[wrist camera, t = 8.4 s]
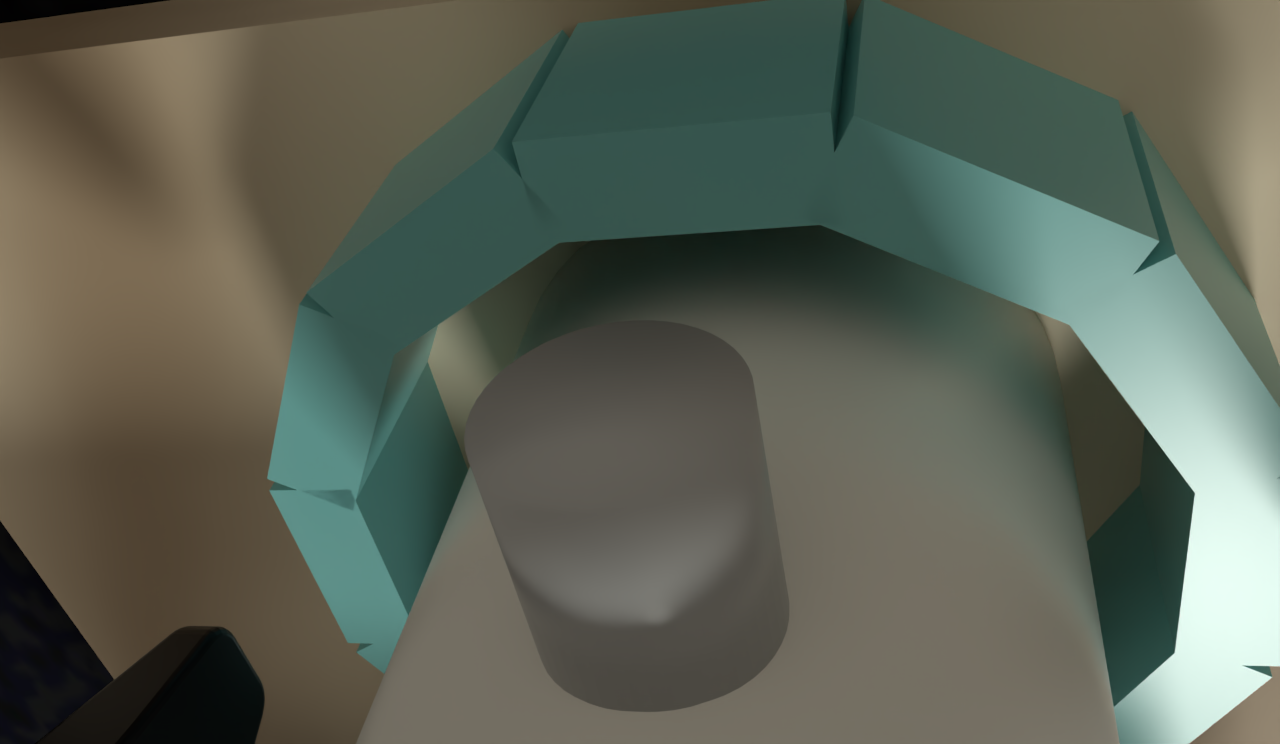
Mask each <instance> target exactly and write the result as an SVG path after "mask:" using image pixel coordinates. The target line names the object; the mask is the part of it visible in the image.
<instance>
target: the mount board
mask: <svg viewBox="0 0 1280 744" xmlns="http://www.w3.org/2000/svg"><path fill="white" fill-rule="evenodd" d="M760 1H768V0H169V1H162V2H154V3H147V4H140V5H132V6H125V7H118V8H110V9H103V10H96V11H88V12H81V13H74V14H66V15H59V16H52V17H44V18H37V19H30V20H22V21H15V22H8V23H0V521H1V522H2V524H3V525H4V527H5V528H6V529H7V531H8V532H9V533H10V535H11V536H12V538H13V539H14V540H15V542H16V543H17V545H18V546H19V547H20V549H21V550H22V552H23V553H24V554H25V556H26V557H27V559H28V560H29V561H30V563H31V564H32V565H33V567H34V568H35V570H36V571H37V572H38V574H39V575H40V577H41V578H42V579H43V581H44V582H45V584H46V585H47V586H48V588H49V589H50V591H51V592H52V593H53V595H54V596H55V597H56V599H57V600H58V602H59V603H60V604H61V606H62V607H63V609H64V610H65V611H66V613H67V614H68V616H69V617H70V618H71V620H72V621H73V623H74V624H75V625H76V627H77V628H78V629H79V631H80V632H81V634H82V635H83V636H84V638H85V639H86V641H87V642H88V643H89V645H90V646H91V648H92V649H93V650H94V652H95V653H96V655H97V656H98V657H99V659H100V660H101V662H102V663H103V664H104V666H105V667H106V668H107V670H108V671H109V673H110V674H111V675H112V677H113V678H114V679H115V678H117V677H118V676H119V675H120V674H122V673H123V672H124V671H125V670H127V669H128V668H129V667H130V666H132V665H133V664H134V663H135V662H136V661H138V660H139V659H140V658H141V657H143V656H144V655H145V654H146V653H148V652H149V651H150V650H151V649H153V648H154V647H155V646H156V645H158V644H159V643H160V642H161V641H162V640H164V639H165V638H166V637H167V636H169V635H170V634H171V633H173V632H174V631H176V630H178V629H179V628H182V627H186V626H219V627H224V628H226V629H227V630H229V631H230V632H231V633H232V634H233V635H234V636H235V638H236V640H237V641H238V643H239V645H240V646H241V648H242V650H243V651H244V653H245V655H246V656H247V658H248V660H249V661H250V663H251V665H252V666H253V668H254V670H255V671H256V673H257V675H258V676H259V678H260V680H261V682H262V684H263V688H264V694H265V704H264V711H263V716H262V719H261V723H260V727H259V731H258V734H257V738H256V742H255V744H356V742H357V740H358V737H359V735H360V732H361V730H362V727H363V725H364V723H365V720H366V718H367V715H368V713H369V710H370V708H371V706H372V703H373V701H374V698H375V696H376V693H377V691H378V689H379V686H380V684H381V681H382V679H383V676H384V673H382V672H381V671H380V670H379V669H377V668H376V667H375V666H373V665H372V664H371V663H369V662H368V661H367V660H366V659H364V658H363V657H362V656H360V655H359V654H358V653H356V651H357V649H358V647H359V645H360V643H348V642H347V640H346V638H345V636H344V634H343V632H342V630H341V628H340V626H339V625H338V623H337V621H336V619H335V617H334V615H333V613H332V611H331V609H330V607H329V605H328V603H327V601H326V599H325V597H324V596H323V594H322V592H321V590H320V588H319V586H318V584H317V582H316V580H315V578H314V576H313V574H312V572H311V570H310V568H309V566H308V565H307V563H306V561H305V559H304V557H303V555H302V553H301V551H300V549H299V547H298V545H297V543H296V541H295V539H294V537H293V536H292V534H291V532H290V530H289V528H288V526H287V524H286V522H285V520H284V518H283V516H282V514H281V512H280V510H279V508H278V506H277V505H276V503H275V501H274V499H273V497H272V495H271V493H270V491H269V490H270V488H271V487H272V485H273V483H274V481H271V480H269V479H267V477H268V471H269V466H270V460H271V455H272V449H273V444H274V438H275V433H276V428H277V422H278V417H279V411H280V406H281V400H282V395H283V389H284V384H285V379H286V373H287V368H288V362H289V357H290V351H291V346H292V340H293V335H294V330H295V324H296V319H297V313H298V308H299V304H300V302H301V301H302V300H303V298H304V297H305V295H306V294H307V293H306V292H307V291H308V290H309V288H310V287H311V285H312V284H313V282H314V281H315V279H316V278H317V277H318V275H319V274H320V272H321V271H322V269H323V268H324V267H325V265H326V264H327V262H328V261H329V259H330V258H331V257H332V255H333V254H334V252H335V251H336V249H337V248H338V246H339V245H340V244H341V242H342V241H343V239H344V238H345V236H346V235H347V234H348V232H349V231H350V229H351V228H352V226H353V225H354V223H355V222H356V221H357V219H358V218H359V216H360V215H361V213H362V212H363V211H364V209H365V208H366V206H367V205H368V203H369V202H370V201H371V199H372V198H373V196H374V195H375V193H376V192H377V190H378V189H379V188H380V186H381V185H382V183H383V182H384V180H385V179H386V178H387V176H388V175H389V173H390V172H391V170H392V169H393V167H394V166H395V165H396V164H397V163H398V162H400V161H401V160H402V159H403V158H404V157H406V156H407V155H408V154H409V153H411V152H412V151H413V150H414V149H416V148H417V147H418V146H419V145H420V144H422V143H423V142H424V141H425V140H427V139H428V138H429V137H430V136H432V135H433V134H434V133H435V132H437V131H438V130H439V129H440V128H441V127H443V126H444V125H445V124H446V123H448V122H449V121H450V120H451V119H453V118H454V117H455V116H456V115H457V114H459V113H460V112H461V111H462V110H464V109H465V108H466V107H467V106H469V105H470V104H471V103H472V102H474V101H475V100H476V99H477V98H478V97H480V96H481V95H482V94H483V93H485V92H486V91H487V90H488V89H490V88H491V87H492V86H493V85H494V84H496V83H497V82H498V81H499V80H501V79H502V78H503V77H504V76H506V75H507V74H508V73H509V72H511V71H512V70H513V69H514V68H515V67H517V66H518V65H519V64H520V63H522V62H523V61H524V60H525V59H527V58H528V57H529V56H530V55H531V54H533V53H534V52H535V51H536V50H538V49H539V48H540V47H541V46H543V45H544V44H545V43H546V42H547V41H549V40H550V39H551V38H552V37H554V36H555V35H556V34H557V33H559V32H560V31H561V30H563V31H564V32H565V33H566V34H567V36H568V37H569V38H570V36H571V35H572V33H573V31H574V29H575V27H576V26H577V24H578V23H583V22H591V21H600V20H608V19H616V18H625V17H633V16H642V15H650V14H659V13H667V12H676V11H684V10H692V9H701V8H709V7H718V6H726V5H735V4H743V3H751V2H760ZM861 1H862V0H846V3H847V15H848V26H849V25H850V23H851V21H852V19H853V17H854V15H855V13H856V11H857V9H858V7H859V5H860V3H861ZM880 1H883V2H885V3H888V4H890V5H892V6H895V7H897V8H900V9H902V10H904V11H907V12H909V13H911V14H914V15H916V16H919V17H921V18H923V19H926V20H928V21H931V22H933V23H935V24H938V25H940V26H943V27H945V28H947V29H950V30H952V31H954V32H957V33H959V34H962V35H964V36H966V37H969V38H971V39H974V40H976V41H978V42H981V43H983V44H986V45H988V46H990V47H993V48H995V49H997V50H1000V51H1002V52H1005V53H1007V54H1009V55H1012V56H1014V57H1017V58H1019V59H1021V60H1024V61H1026V62H1028V63H1031V64H1033V65H1036V66H1038V67H1040V68H1043V69H1045V70H1048V71H1050V72H1052V73H1055V74H1057V75H1060V76H1062V77H1064V78H1067V79H1069V80H1071V81H1074V82H1076V83H1079V84H1081V85H1083V86H1086V87H1088V88H1091V89H1093V90H1095V91H1098V92H1100V93H1103V94H1105V95H1107V96H1110V97H1112V98H1114V99H1117V100H1118V101H1119V104H1120V108H1121V111H1122V114H1123V116H1124V115H1126V114H1128V113H1130V112H1133V113H1134V115H1135V117H1136V118H1137V120H1138V121H1139V123H1140V124H1141V126H1142V127H1143V129H1144V130H1145V132H1146V133H1147V135H1148V137H1149V138H1150V140H1151V141H1152V143H1153V144H1154V146H1155V147H1156V149H1157V150H1158V152H1159V153H1160V155H1161V157H1162V158H1163V160H1164V161H1165V163H1166V164H1167V166H1168V167H1169V169H1170V170H1171V172H1172V173H1173V175H1174V177H1175V178H1176V180H1177V181H1178V183H1179V184H1180V186H1181V187H1182V189H1183V190H1184V192H1185V193H1186V195H1187V197H1188V198H1189V200H1190V201H1191V203H1192V204H1193V206H1194V207H1195V209H1196V210H1197V212H1198V213H1199V215H1200V217H1201V218H1202V220H1203V221H1204V223H1205V224H1206V226H1207V227H1208V229H1209V230H1210V232H1211V233H1212V235H1213V237H1214V238H1215V240H1216V241H1217V243H1218V244H1219V246H1220V247H1221V249H1222V250H1223V252H1224V253H1225V255H1226V257H1227V258H1228V260H1229V261H1230V263H1231V264H1232V266H1233V267H1234V269H1235V270H1236V272H1237V273H1238V275H1239V277H1240V278H1241V280H1242V281H1243V283H1244V284H1245V286H1246V287H1247V289H1248V290H1249V292H1250V293H1251V295H1252V296H1253V298H1254V300H1255V302H1256V305H1257V307H1258V310H1259V313H1260V315H1261V318H1262V321H1263V323H1264V326H1265V328H1266V331H1267V334H1268V336H1269V339H1270V342H1271V344H1272V347H1273V349H1274V352H1275V355H1276V357H1277V360H1278V363H1279V365H1280V0H880ZM588 242H589V241H577V242H563V243H558V244H556V245H555V246H553V247H552V248H551V249H549V250H548V251H546V252H545V253H543V254H542V255H540V256H539V257H537V258H536V259H534V260H533V261H531V262H530V263H528V264H527V265H526V266H524V267H523V268H521V269H520V270H518V271H517V272H515V273H514V274H512V275H511V276H509V277H508V278H506V279H505V280H503V281H502V282H501V283H499V284H498V285H496V286H495V287H493V288H492V289H490V290H489V291H487V292H486V293H484V294H483V295H481V296H480V297H478V298H477V299H476V300H474V301H473V302H471V303H470V304H468V305H467V306H465V307H464V308H462V309H461V310H459V311H458V312H456V313H455V314H453V315H452V316H450V317H449V318H448V319H446V320H445V321H443V322H442V323H440V324H439V325H438V328H437V331H436V335H435V338H434V342H433V345H432V348H431V352H430V355H429V359H428V364H429V366H430V369H431V372H432V375H433V377H434V380H435V383H436V385H437V388H438V391H439V393H440V396H441V399H442V401H443V404H444V407H445V409H446V412H447V415H448V417H449V420H450V423H451V425H452V428H453V431H454V433H455V436H456V439H457V442H458V444H459V447H460V450H461V452H462V455H463V458H464V460H465V463H466V466H467V468H468V470H469V467H470V464H469V462H468V458H467V455H466V451H465V443H464V434H465V427H466V422H467V420H468V417H469V414H470V411H471V409H472V407H473V405H474V403H475V402H476V400H477V398H478V397H479V395H480V394H481V393H482V391H483V390H484V388H485V387H486V386H487V385H488V384H489V383H490V382H491V381H492V380H493V379H494V377H495V376H497V375H498V374H499V373H500V372H501V371H502V370H503V369H505V368H506V367H507V366H508V365H510V364H511V363H512V362H513V360H514V358H515V355H516V353H517V351H518V348H519V346H520V343H521V341H522V338H523V336H524V334H525V331H526V329H527V326H528V324H529V321H530V319H531V317H532V315H533V313H534V311H535V308H536V306H537V304H538V302H539V300H540V298H541V296H542V294H543V293H544V291H545V290H546V288H547V287H548V285H549V284H550V282H551V281H552V280H553V278H554V277H555V275H556V274H557V272H558V271H559V270H560V269H561V268H562V267H563V266H564V265H565V264H566V262H567V261H568V260H569V259H570V258H571V257H572V256H573V255H574V254H575V253H576V252H577V251H578V250H579V249H580V248H581V247H583V246H584V245H585V244H586V243H588ZM1034 312H1035V314H1036V315H1037V317H1038V318H1039V320H1040V321H1041V323H1042V326H1043V328H1044V330H1045V333H1046V335H1047V337H1048V340H1049V342H1050V344H1051V347H1052V349H1053V352H1054V356H1055V360H1056V364H1057V369H1058V373H1059V377H1060V382H1061V388H1062V394H1063V400H1064V406H1065V412H1066V419H1067V425H1068V431H1069V437H1070V443H1071V449H1072V455H1073V461H1074V467H1075V474H1076V480H1077V486H1078V492H1079V498H1080V504H1081V510H1082V516H1083V523H1084V529H1085V535H1086V541H1088V540H1089V539H1090V537H1091V536H1092V535H1093V534H1094V533H1095V532H1096V531H1097V530H1098V529H1099V528H1100V527H1101V526H1102V525H1103V524H1104V522H1105V521H1106V520H1107V519H1108V518H1109V517H1110V516H1111V515H1112V514H1113V513H1114V512H1115V511H1116V510H1117V509H1118V507H1119V506H1120V505H1121V504H1122V503H1123V502H1124V501H1125V500H1126V499H1127V498H1128V497H1129V496H1130V495H1131V494H1132V492H1133V491H1134V490H1135V489H1136V488H1137V487H1138V486H1139V485H1140V476H1141V465H1142V454H1143V442H1144V431H1145V426H1144V424H1143V423H1142V422H1141V420H1140V419H1139V418H1138V416H1137V415H1136V414H1135V412H1134V411H1133V410H1132V408H1131V407H1130V405H1129V404H1128V403H1127V401H1126V400H1125V399H1124V397H1123V396H1122V395H1121V393H1120V392H1119V391H1118V389H1117V388H1116V387H1115V385H1114V384H1113V383H1112V381H1111V380H1110V379H1109V377H1108V376H1107V375H1106V373H1105V372H1104V371H1103V369H1102V368H1101V367H1100V365H1099V364H1098V363H1097V361H1096V360H1095V359H1094V357H1093V356H1092V355H1091V353H1090V352H1089V351H1088V349H1087V348H1086V347H1085V345H1084V344H1083V343H1082V341H1081V340H1080V339H1079V337H1078V336H1077V335H1076V333H1075V332H1074V331H1073V329H1072V328H1071V327H1070V325H1068V324H1066V323H1063V322H1061V321H1058V320H1056V319H1053V318H1051V317H1048V316H1046V315H1043V314H1041V313H1038V312H1036V311H1034ZM1270 670H1271V674H1272V678H1271V679H1270V680H1268V681H1267V682H1266V683H1265V684H1263V685H1262V686H1261V687H1260V688H1258V689H1257V690H1256V691H1255V692H1253V693H1252V694H1251V695H1250V696H1248V697H1247V698H1246V699H1245V700H1243V701H1242V702H1241V703H1240V704H1238V705H1237V706H1236V707H1235V708H1233V709H1232V710H1231V711H1229V712H1228V713H1227V714H1226V715H1224V716H1223V717H1222V718H1221V719H1219V720H1218V721H1217V722H1216V723H1214V724H1213V725H1212V726H1211V727H1209V728H1208V729H1207V730H1206V731H1204V732H1203V733H1202V734H1201V735H1199V736H1198V737H1197V738H1196V739H1194V740H1193V741H1192V742H1191V743H1189V744H1280V666H1270Z"/></svg>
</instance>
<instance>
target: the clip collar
mask: <svg viewBox="0 0 1280 744" xmlns="http://www.w3.org/2000/svg"><path fill="white" fill-rule="evenodd" d="M811 225H822V226H824V227H827V228H829V229H832V230H834V231H837V232H839V233H842V234H844V235H847V236H849V237H852V238H854V239H857V240H859V241H862V242H864V243H867V244H869V245H872V246H874V247H877V248H879V249H882V250H884V251H887V252H889V253H892V254H894V255H896V256H899V257H901V258H904V259H906V260H909V261H911V262H914V263H916V264H919V265H921V266H924V267H926V268H929V269H931V270H934V271H936V272H939V273H941V274H944V275H946V276H949V277H951V278H954V279H956V280H959V281H961V282H964V283H966V284H969V285H971V286H974V287H976V288H979V289H981V290H984V291H986V292H989V293H991V294H994V295H996V296H999V297H1001V298H1004V299H1006V300H1008V301H1011V302H1013V303H1016V304H1018V305H1021V306H1023V307H1026V308H1028V309H1031V310H1033V311H1036V312H1038V313H1041V314H1043V315H1046V316H1048V317H1051V318H1053V319H1056V320H1058V321H1061V322H1063V323H1066V324H1068V325H1070V327H1071V328H1072V329H1073V331H1074V332H1075V333H1076V335H1077V336H1078V337H1079V339H1080V340H1081V341H1082V343H1083V344H1084V345H1085V347H1086V348H1087V349H1088V351H1089V352H1090V353H1091V355H1092V356H1093V357H1094V359H1095V360H1096V361H1097V363H1098V364H1099V365H1100V367H1101V368H1102V369H1103V371H1104V372H1105V373H1106V375H1107V376H1108V377H1109V379H1110V380H1111V381H1112V383H1113V384H1114V385H1115V387H1116V388H1117V389H1118V391H1119V392H1120V393H1121V395H1122V396H1123V397H1124V399H1125V400H1126V401H1127V403H1128V404H1129V405H1130V407H1131V408H1132V410H1133V411H1134V412H1135V414H1136V415H1137V416H1138V418H1139V419H1140V420H1141V422H1142V423H1143V424H1144V426H1145V431H1144V442H1143V454H1142V465H1141V476H1140V485H1139V486H1138V487H1137V488H1136V489H1135V490H1134V491H1133V492H1132V494H1131V495H1130V496H1129V497H1128V498H1127V499H1126V500H1125V501H1124V502H1123V503H1122V504H1121V505H1120V506H1119V507H1118V509H1117V510H1116V511H1115V512H1114V513H1113V514H1112V515H1111V516H1110V517H1109V518H1108V519H1107V520H1106V521H1105V522H1104V524H1103V525H1102V526H1101V527H1100V528H1099V529H1098V530H1097V531H1096V532H1095V533H1094V534H1093V535H1092V536H1091V537H1090V539H1089V540H1088V541H1087V547H1088V553H1089V559H1090V565H1091V571H1092V578H1093V584H1094V590H1095V596H1096V602H1097V608H1098V614H1099V620H1100V626H1101V633H1102V639H1103V645H1104V651H1105V657H1106V663H1107V669H1108V675H1109V681H1110V688H1111V694H1112V700H1113V706H1114V712H1115V718H1116V724H1117V730H1118V737H1119V743H1120V744H1189V743H1191V742H1192V741H1193V740H1194V739H1196V738H1197V737H1198V736H1199V735H1201V734H1202V733H1203V732H1204V731H1206V730H1207V729H1208V728H1209V727H1211V726H1212V725H1213V724H1214V723H1216V722H1217V721H1218V720H1219V719H1221V718H1222V717H1223V716H1224V715H1226V714H1227V713H1228V712H1229V711H1231V710H1232V709H1233V708H1235V707H1236V706H1237V705H1238V704H1240V703H1241V702H1242V701H1243V700H1245V699H1246V698H1247V697H1248V696H1250V695H1251V694H1252V693H1253V692H1255V691H1256V690H1257V689H1258V688H1260V687H1261V686H1262V685H1263V684H1265V683H1266V682H1267V681H1268V680H1270V679H1271V678H1272V674H1271V670H1270V666H1280V365H1279V363H1278V360H1277V357H1276V355H1275V352H1274V349H1273V347H1272V344H1271V342H1270V339H1269V336H1268V334H1267V331H1266V328H1265V326H1264V323H1263V321H1262V318H1261V315H1260V313H1259V310H1258V307H1257V305H1256V302H1255V300H1254V298H1253V296H1252V295H1251V293H1250V292H1249V290H1248V289H1247V287H1246V286H1245V284H1244V283H1243V281H1242V280H1241V278H1240V277H1239V275H1238V273H1237V272H1236V270H1235V269H1234V267H1233V266H1232V264H1231V263H1230V261H1229V260H1228V258H1227V257H1226V255H1225V253H1224V252H1223V250H1222V249H1221V247H1220V246H1219V244H1218V243H1217V241H1216V240H1215V238H1214V237H1213V235H1212V233H1211V232H1210V230H1209V229H1208V227H1207V226H1206V224H1205V223H1204V221H1203V220H1202V218H1201V217H1200V215H1199V213H1198V212H1197V210H1196V209H1195V207H1194V206H1193V204H1192V203H1191V201H1190V200H1189V198H1188V197H1187V195H1186V193H1185V192H1184V190H1183V189H1182V187H1181V186H1180V184H1179V183H1178V181H1177V180H1176V178H1175V177H1174V175H1173V173H1172V172H1171V170H1170V169H1169V167H1168V166H1167V164H1166V163H1165V161H1164V160H1163V158H1162V157H1161V155H1160V153H1159V152H1158V150H1157V149H1156V147H1155V146H1154V144H1153V143H1152V141H1151V140H1150V138H1149V137H1148V135H1147V133H1146V132H1145V130H1144V129H1143V127H1142V126H1141V124H1140V123H1139V121H1138V120H1137V118H1136V117H1135V115H1134V113H1133V112H1130V113H1128V114H1126V115H1124V116H1123V114H1122V111H1121V108H1120V104H1119V101H1118V100H1117V99H1114V98H1112V97H1110V96H1107V95H1105V94H1103V93H1100V92H1098V91H1095V90H1093V89H1091V88H1088V87H1086V86H1083V85H1081V84H1079V83H1076V82H1074V81H1071V80H1069V79H1067V78H1064V77H1062V76H1060V75H1057V74H1055V73H1052V72H1050V71H1048V70H1045V69H1043V68H1040V67H1038V66H1036V65H1033V64H1031V63H1028V62H1026V61H1024V60H1021V59H1019V58H1017V57H1014V56H1012V55H1009V54H1007V53H1005V52H1002V51H1000V50H997V49H995V48H993V47H990V46H988V45H986V44H983V43H981V42H978V41H976V40H974V39H971V38H969V37H966V36H964V35H962V34H959V33H957V32H954V31H952V30H950V29H947V28H945V27H943V26H940V25H938V24H935V23H933V22H931V21H928V20H926V19H923V18H921V17H919V16H916V15H914V14H911V13H909V12H907V11H904V10H902V9H900V8H897V7H895V6H892V5H890V4H888V3H885V2H883V1H880V0H862V1H861V3H860V5H859V7H858V9H857V11H856V13H855V15H854V17H853V19H852V21H851V23H850V25H849V26H848V15H847V3H846V0H768V1H760V2H751V3H743V4H735V5H726V6H718V7H709V8H701V9H692V10H684V11H676V12H667V13H659V14H650V15H642V16H633V17H625V18H616V19H608V20H600V21H591V22H583V23H578V24H577V26H576V27H575V29H574V31H573V33H572V35H571V36H570V38H569V37H568V36H567V34H566V33H565V32H564V31H563V30H561V31H560V32H559V33H557V34H556V35H555V36H554V37H552V38H551V39H550V40H549V41H547V42H546V43H545V44H544V45H543V46H541V47H540V48H539V49H538V50H536V51H535V52H534V53H533V54H531V55H530V56H529V57H528V58H527V59H525V60H524V61H523V62H522V63H520V64H519V65H518V66H517V67H515V68H514V69H513V70H512V71H511V72H509V73H508V74H507V75H506V76H504V77H503V78H502V79H501V80H499V81H498V82H497V83H496V84H494V85H493V86H492V87H491V88H490V89H488V90H487V91H486V92H485V93H483V94H482V95H481V96H480V97H478V98H477V99H476V100H475V101H474V102H472V103H471V104H470V105H469V106H467V107H466V108H465V109H464V110H462V111H461V112H460V113H459V114H457V115H456V116H455V117H454V118H453V119H451V120H450V121H449V122H448V123H446V124H445V125H444V126H443V127H441V128H440V129H439V130H438V131H437V132H435V133H434V134H433V135H432V136H430V137H429V138H428V139H427V140H425V141H424V142H423V143H422V144H420V145H419V146H418V147H417V148H416V149H414V150H413V151H412V152H411V153H409V154H408V155H407V156H406V157H404V158H403V159H402V160H401V161H400V162H398V163H397V164H396V165H395V166H394V167H393V169H392V170H391V172H390V173H389V175H388V176H387V178H386V179H385V180H384V182H383V183H382V185H381V186H380V188H379V189H378V190H377V192H376V193H375V195H374V196H373V198H372V199H371V201H370V202H369V203H368V205H367V206H366V208H365V209H364V211H363V212H362V213H361V215H360V216H359V218H358V219H357V221H356V222H355V223H354V225H353V226H352V228H351V229H350V231H349V232H348V234H347V235H346V236H345V238H344V239H343V241H342V242H341V244H340V245H339V246H338V248H337V249H336V251H335V252H334V254H333V255H332V257H331V258H330V259H329V261H328V262H327V264H326V265H325V267H324V268H323V269H322V271H321V272H320V274H319V275H318V277H317V278H316V279H315V281H314V282H313V284H312V285H311V287H310V288H309V290H308V291H307V292H306V293H307V294H306V295H305V297H304V298H303V300H302V301H301V302H300V304H299V308H298V313H297V319H296V324H295V330H294V335H293V340H292V346H291V351H290V357H289V362H288V368H287V373H286V379H285V384H284V389H283V395H282V400H281V406H280V411H279V417H278V422H277V428H276V433H275V438H274V444H273V449H272V455H271V460H270V466H269V471H268V477H267V479H269V480H271V481H274V483H273V485H272V487H271V488H270V490H269V491H270V493H271V495H272V497H273V499H274V501H275V503H276V505H277V506H278V508H279V510H280V512H281V514H282V516H283V518H284V520H285V522H286V524H287V526H288V528H289V530H290V532H291V534H292V536H293V537H294V539H295V541H296V543H297V545H298V547H299V549H300V551H301V553H302V555H303V557H304V559H305V561H306V563H307V565H308V566H309V568H310V570H311V572H312V574H313V576H314V578H315V580H316V582H317V584H318V586H319V588H320V590H321V592H322V594H323V596H324V597H325V599H326V601H327V603H328V605H329V607H330V609H331V611H332V613H333V615H334V617H335V619H336V621H337V623H338V625H339V626H340V628H341V630H342V632H343V634H344V636H345V638H346V640H347V642H348V643H360V645H359V647H358V649H357V651H356V653H358V654H359V655H360V656H362V657H363V658H364V659H366V660H367V661H368V662H369V663H371V664H372V665H373V666H375V667H376V668H377V669H379V670H380V671H381V672H382V673H384V674H385V672H386V669H387V667H388V664H389V662H390V659H391V657H392V654H393V652H394V650H395V647H396V645H397V642H398V640H399V637H400V635H401V633H402V630H403V628H404V625H405V623H406V620H407V618H408V616H409V613H410V611H411V608H412V606H413V603H414V601H415V599H416V596H417V594H418V591H419V589H420V586H421V584H422V582H423V579H424V577H425V574H426V572H427V569H428V567H429V565H430V562H431V560H432V557H433V555H434V552H435V550H436V548H437V545H438V543H439V540H440V538H441V535H442V533H443V531H444V528H445V526H446V523H447V521H448V518H449V516H450V513H451V511H452V509H453V506H454V504H455V501H456V499H457V496H458V494H459V492H460V489H461V487H462V484H463V482H464V479H465V477H466V475H467V472H468V468H467V466H466V463H465V460H464V458H463V455H462V452H461V450H460V447H459V444H458V442H457V439H456V436H455V433H454V431H453V428H452V425H451V423H450V420H449V417H448V415H447V412H446V409H445V407H444V404H443V401H442V399H441V396H440V393H439V391H438V388H437V385H436V383H435V380H434V377H433V375H432V372H431V369H430V366H429V364H428V359H429V355H430V352H431V348H432V345H433V342H434V338H435V335H436V331H437V328H438V325H439V324H440V323H442V322H443V321H445V320H446V319H448V318H449V317H450V316H452V315H453V314H455V313H456V312H458V311H459V310H461V309H462V308H464V307H465V306H467V305H468V304H470V303H471V302H473V301H474V300H476V299H477V298H478V297H480V296H481V295H483V294H484V293H486V292H487V291H489V290H490V289H492V288H493V287H495V286H496V285H498V284H499V283H501V282H502V281H503V280H505V279H506V278H508V277H509V276H511V275H512V274H514V273H515V272H517V271H518V270H520V269H521V268H523V267H524V266H526V265H527V264H528V263H530V262H531V261H533V260H534V259H536V258H537V257H539V256H540V255H542V254H543V253H545V252H546V251H548V250H549V249H551V248H552V247H553V246H555V245H556V244H558V243H563V242H577V241H592V240H607V239H621V238H636V237H651V236H665V235H680V234H694V233H709V232H724V231H738V230H753V229H767V228H782V227H797V226H811Z"/></svg>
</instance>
